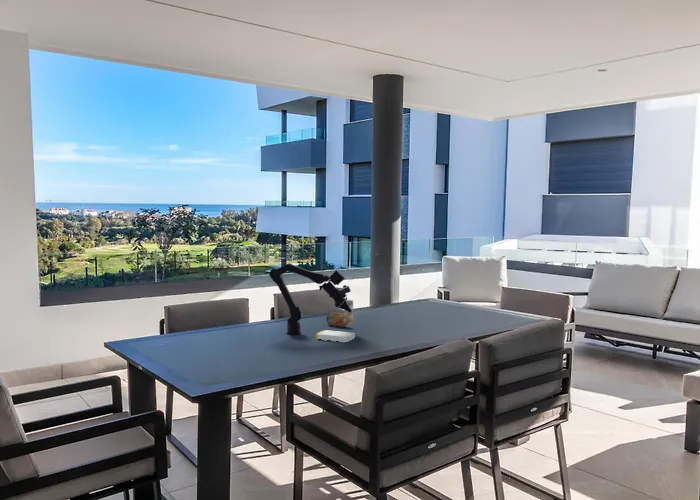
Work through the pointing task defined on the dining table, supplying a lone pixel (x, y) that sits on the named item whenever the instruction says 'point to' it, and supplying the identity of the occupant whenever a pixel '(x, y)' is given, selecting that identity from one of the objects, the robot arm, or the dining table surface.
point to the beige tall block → (349, 313)
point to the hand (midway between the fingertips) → (351, 311)
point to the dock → (335, 336)
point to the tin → (336, 319)
